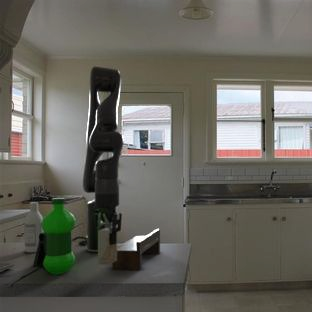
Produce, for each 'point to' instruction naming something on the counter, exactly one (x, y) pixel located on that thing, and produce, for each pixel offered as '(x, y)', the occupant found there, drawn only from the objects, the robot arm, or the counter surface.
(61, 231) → the plastic bottle
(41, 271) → the counter surface
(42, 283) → the counter surface
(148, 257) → the counter surface
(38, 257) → the phone stand
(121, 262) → the shelf
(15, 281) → the counter surface
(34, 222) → the bath foam
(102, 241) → the box
